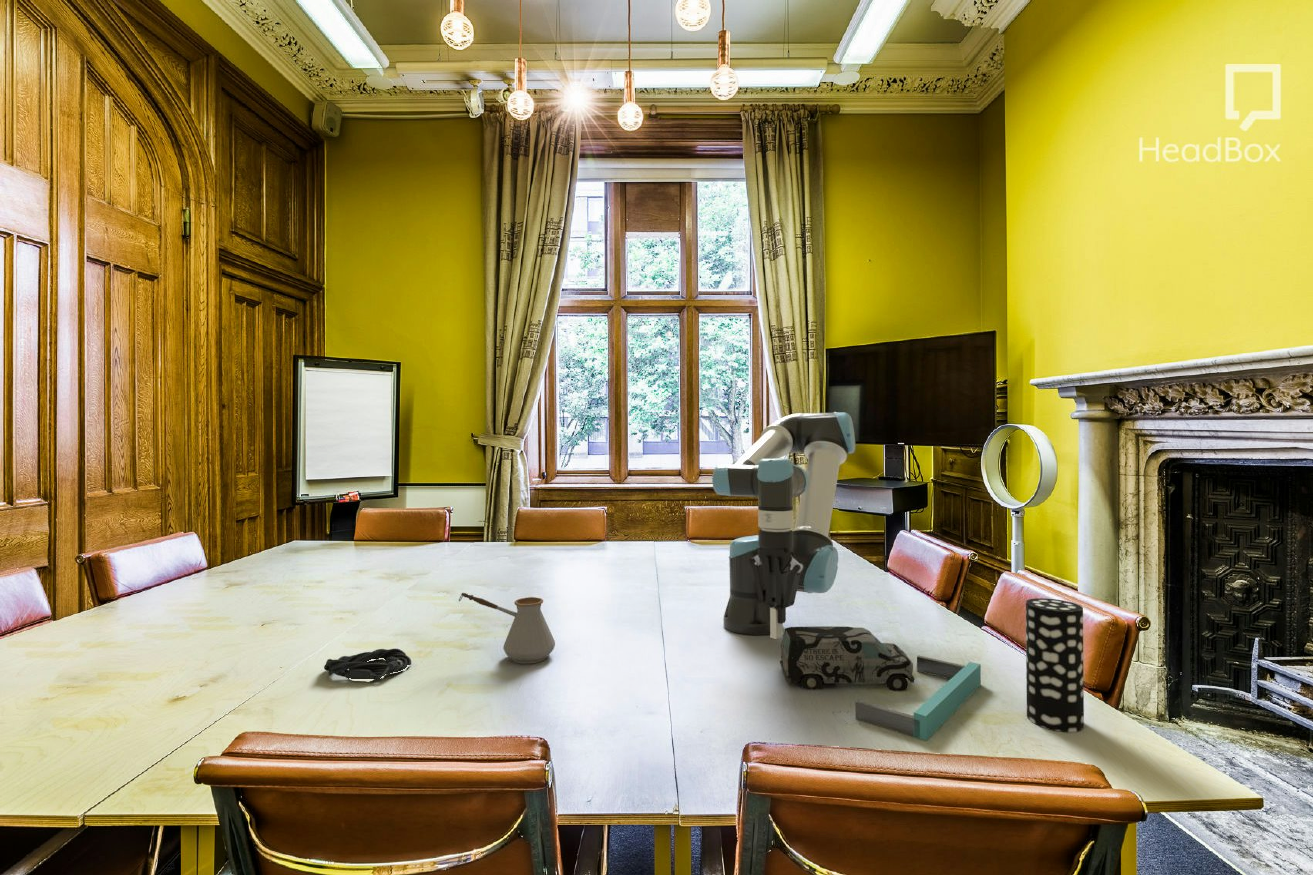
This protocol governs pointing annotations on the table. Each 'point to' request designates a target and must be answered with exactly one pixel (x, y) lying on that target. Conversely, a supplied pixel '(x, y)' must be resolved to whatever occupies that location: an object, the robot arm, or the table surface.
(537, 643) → the coffee pot
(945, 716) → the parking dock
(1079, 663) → the white-spotted black cylinder
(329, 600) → the table surface
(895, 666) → the toy car
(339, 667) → the cable
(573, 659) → the table surface
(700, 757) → the table surface
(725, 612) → the robot arm
